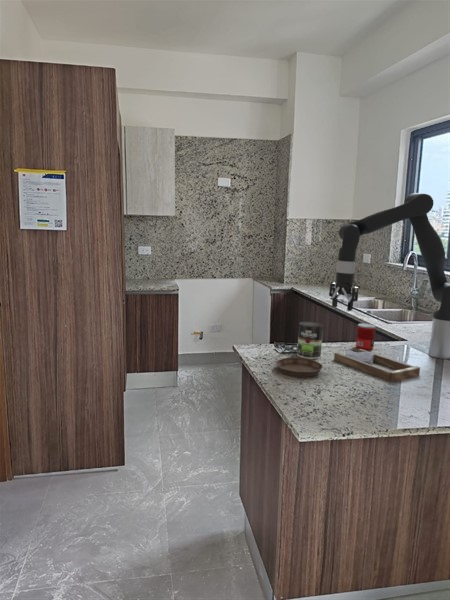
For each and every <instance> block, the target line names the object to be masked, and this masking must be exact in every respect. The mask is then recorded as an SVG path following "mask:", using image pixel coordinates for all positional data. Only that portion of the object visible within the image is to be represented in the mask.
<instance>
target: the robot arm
mask: <svg viewBox="0 0 450 600" xmlns="http://www.w3.org/2000/svg"><path fill="white" fill-rule="evenodd" d="M433 206H434V199H433V197H432V196H431V195H429V194H428V193H426V192H425V193H424V192H413V193H410V194H408V195H407V196H406V197H405V198H404V203H402V204H400V205H398V206H395V207H391V208H388V209H384V210H381V211H377V212H375V213H373V214H369V215H367V216H365V217H363V218H361V219H359V220H355V221H351V222H349V223H346V224H344V225H341V227H340V228H339V230H338V236H339V238H340V239H341V240H342V243H341V247H340V248H339V250H338V259H337V264H336V272H335V282H331V283H330V285H329V292H328V296H329V297H331V299H332V300H331V306H332V308H337V307H338V303H339V302H338V300H339V299H338V298H339V296H344V297H345V299H346V300H347V305H346V306H347V308H346V311H348V312H350V311H352V310H353V308H354V302H358V300H359V287H358V286H353V284H354V283H355V282H354V280H355V271H356V270H355V269H356V254H357V249H358V245H359V242H360V237H361V236H363V235H368V234H372V233H374V232H376V231H379V230H382V229H384V228H386V227H388V226H391V225H394V224H396V223H399V222H401V221H404V220H407V219H408V220H409V222H410V224H411V226H412V229H413V231H414V235H415V238H416V242H417V245H418V248H419V251H420V255H421V257H422V260H423V263H424V266H425V269H426V272H427V276H428V280H429V284H430V289H431V294H432V297H433V299H434V300H435V301H437V302H439V303H440V306H439V309H438V310H435V311H434V312H433V314H432V315H433V316H432V323H431V324H432V325H431V332H430V339H429V340H430V341H429V347H428V348H429V349H428V356H429V357H432V358H436V359H443V360H447V359H450V282H448V280H447V279H448V278H447V276H446V273H445V266H444V265H445V262H446V252H445V251H446V250H445V248H444V245H443V241H442V239H441V237H440V235H439V234H438V232H437V231H436V230H435V228H434V226H433V225H432V224H431V222H430V220H429V218H428V213H430V212H431V210H432V209H433Z"/></svg>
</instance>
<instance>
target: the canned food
mask: <svg viewBox="0 0 450 600" xmlns="http://www.w3.org/2000/svg"><path fill="white" fill-rule="evenodd" d="M375 335H376V325H375V324H370V323H363V322H362V323H358V324H357V332H356V338H355V339H356V340H355V347H356V348H357V349H363V350H366V351H372V350H374V348H375V347H374V345H375V338H376V337H375Z"/></svg>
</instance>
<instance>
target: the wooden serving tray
mask: <svg viewBox="0 0 450 600" xmlns="http://www.w3.org/2000/svg"><path fill="white" fill-rule="evenodd" d="M357 350H358V351H357V353H360V352H370V353H372V354H374V361H373V363H374V362H375V363H377V364H380V365H383V366H386V367H389V368H392V369H394V370H392V371H390V370H387V369H384V368H382V367H379V366H375V365H374V364H373V365H371V364H368V363H365V362H362V361H359V360H357V359H354V358H351V357H348V356H345V355H346V354H342V353H339V352H334V355H333V357H334V358H333V360H334V361H336V362H339V363H341V364H344V365H347V366H350V367H352V368H355V369H358V370H360V371H363V372H366V373H368V374H370V375H374V376H375V377H379V378H381V379H384V380H387V381H389V382H391V383H393V382H397V381H402V380H405V379H406V380H407V379H411V378H414V377H419V376H420V371H421V367H420V366H418V365H417V366H414V365H411V364H408V363H406V362H402V361H399V360H396V359H393V358H389V357H387V356H384V355H381V354H377V353H374V352H372V351H370V350H363V349H359V348H357Z"/></svg>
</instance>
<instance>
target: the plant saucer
mask: <svg viewBox="0 0 450 600" xmlns="http://www.w3.org/2000/svg"><path fill="white" fill-rule="evenodd" d="M275 365H276V366H277V368H278V370H279V371H280V372H281V373H282V374H284V375H287V376H290V377H295V378H296V377H299V378H310V377H315V376H316V375H318V373H320V372H321V370H322V369H323V367H324V366H323V365H322V363H320V362H318V361H316V360H314V359H305V358H301V357H286V358H281V359H279V360H277V361H276V362H275Z"/></svg>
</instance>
